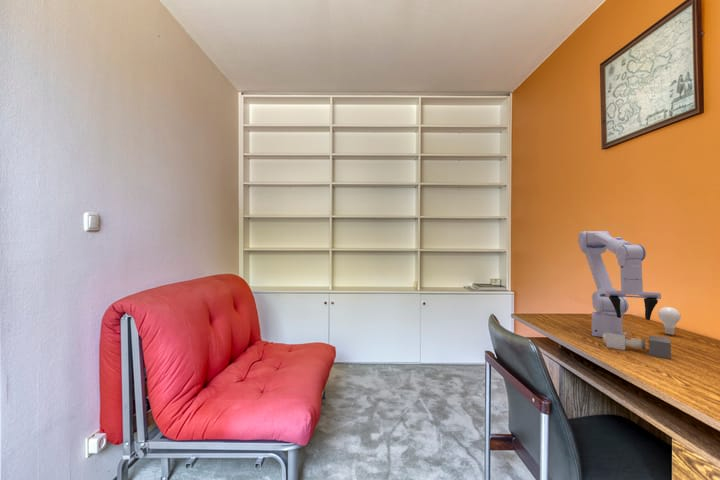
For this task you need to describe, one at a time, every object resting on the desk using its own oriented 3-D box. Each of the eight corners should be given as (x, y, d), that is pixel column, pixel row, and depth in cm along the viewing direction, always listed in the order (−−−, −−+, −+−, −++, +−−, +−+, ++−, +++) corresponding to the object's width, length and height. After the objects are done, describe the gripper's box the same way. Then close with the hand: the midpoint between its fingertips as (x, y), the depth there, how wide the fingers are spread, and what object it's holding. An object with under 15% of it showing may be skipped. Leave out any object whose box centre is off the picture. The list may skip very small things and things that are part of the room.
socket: (649, 355, 100) (648, 339, 100) (649, 349, 105) (648, 335, 105) (671, 359, 97) (670, 343, 97) (669, 353, 102) (669, 338, 102)
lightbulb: (686, 337, 119) (685, 308, 119) (669, 337, 119) (668, 308, 119) (669, 332, 125) (669, 305, 125) (653, 332, 125) (653, 305, 125)
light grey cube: (606, 347, 108) (606, 332, 109) (607, 343, 112) (607, 329, 112) (625, 350, 105) (624, 335, 105) (625, 346, 109) (625, 332, 109)
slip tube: (602, 343, 110) (602, 321, 110) (603, 340, 112) (603, 320, 112) (645, 350, 102) (644, 327, 102) (645, 347, 105) (644, 325, 105)
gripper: (607, 279, 108) (609, 318, 107) (663, 280, 101) (665, 322, 100) (603, 277, 114) (604, 314, 113) (656, 279, 107) (657, 318, 106)
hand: (633, 318), depth 107 cm, fingers open, 7 cm apart
